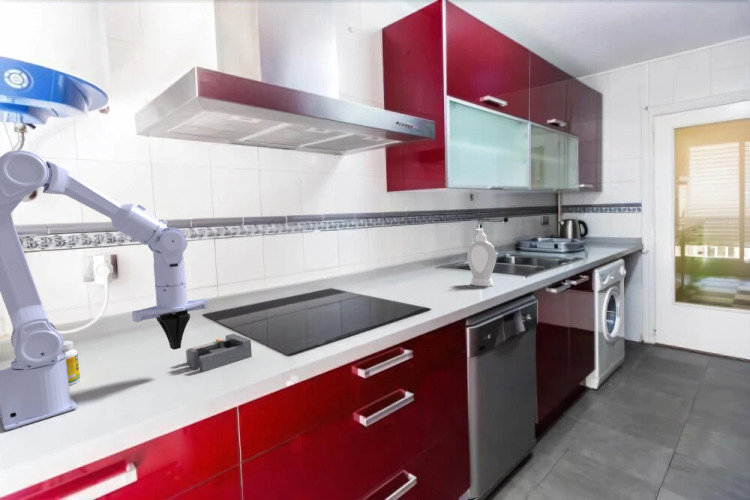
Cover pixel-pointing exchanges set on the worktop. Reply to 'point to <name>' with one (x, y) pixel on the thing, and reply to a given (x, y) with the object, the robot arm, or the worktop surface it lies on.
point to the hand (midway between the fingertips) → (175, 348)
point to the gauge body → (223, 352)
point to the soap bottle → (481, 260)
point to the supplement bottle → (71, 362)
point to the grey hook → (193, 355)
